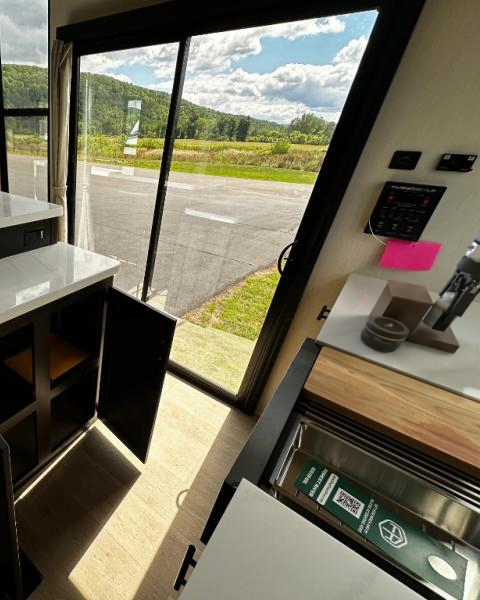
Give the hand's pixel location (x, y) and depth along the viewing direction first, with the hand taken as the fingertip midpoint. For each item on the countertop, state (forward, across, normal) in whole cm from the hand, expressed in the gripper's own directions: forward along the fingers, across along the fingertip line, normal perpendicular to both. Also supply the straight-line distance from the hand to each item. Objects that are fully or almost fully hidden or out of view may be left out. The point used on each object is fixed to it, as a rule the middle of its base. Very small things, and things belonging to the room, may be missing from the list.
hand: (435, 324), depth 102 cm
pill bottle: (+1, 0, 0) cm, 1 cm away
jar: (+6, +12, -14) cm, 19 cm away
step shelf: (+5, 0, -4) cm, 7 cm away
